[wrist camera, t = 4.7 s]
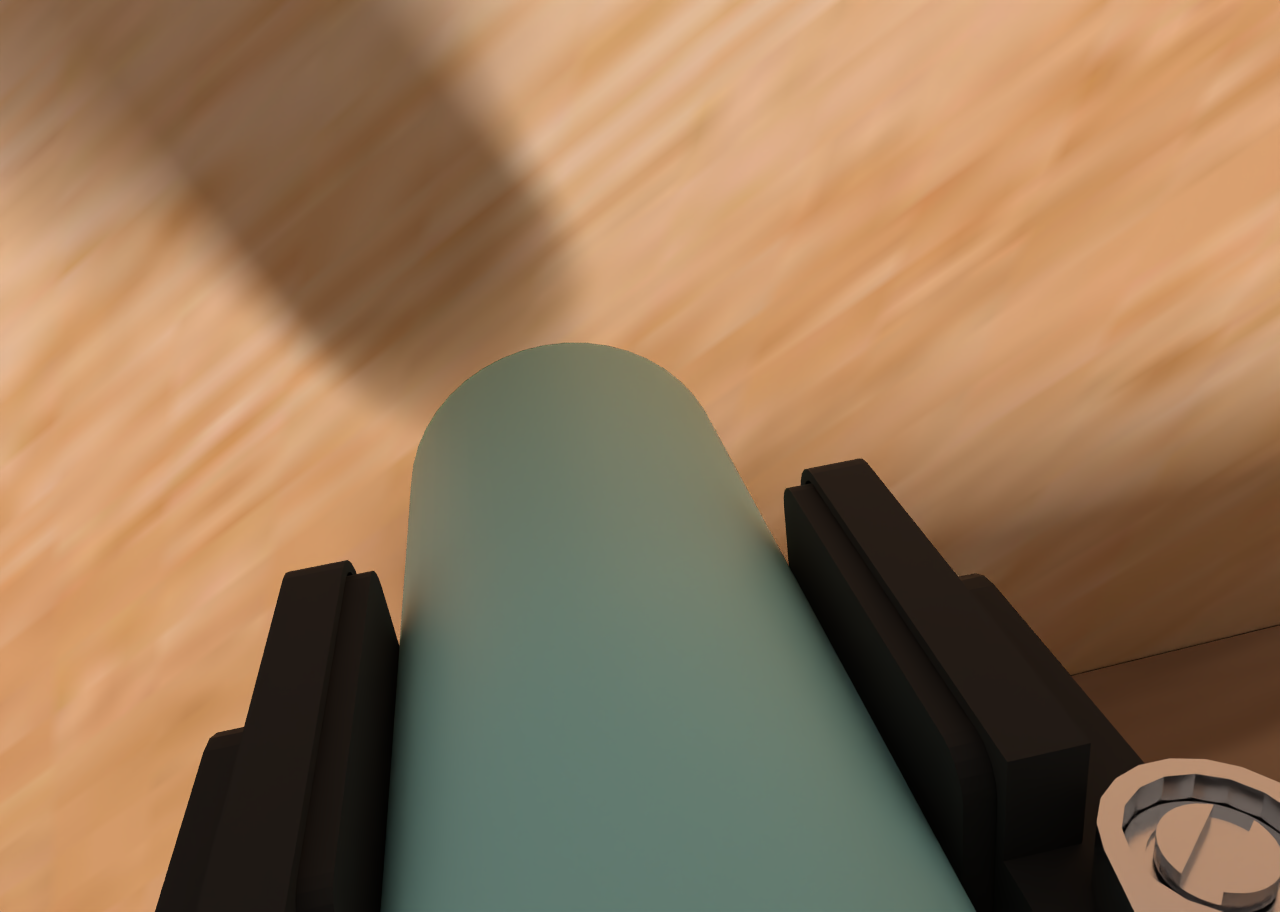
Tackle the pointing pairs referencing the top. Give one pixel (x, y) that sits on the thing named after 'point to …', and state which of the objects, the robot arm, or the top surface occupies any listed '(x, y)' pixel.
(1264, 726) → the socket block
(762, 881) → the dowel
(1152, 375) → the top surface
